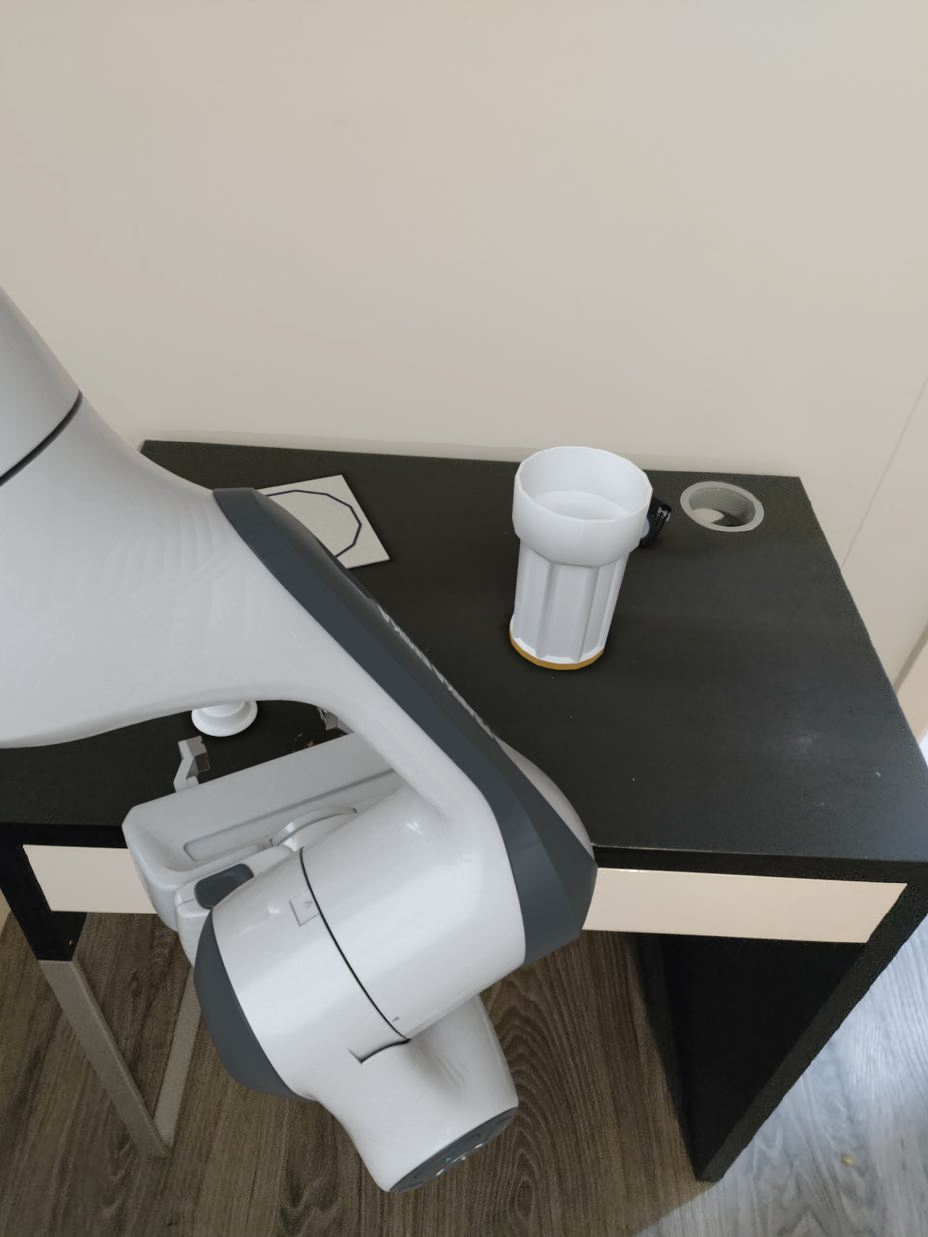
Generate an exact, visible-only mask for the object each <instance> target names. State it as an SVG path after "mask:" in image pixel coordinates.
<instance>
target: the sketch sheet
mask: <svg viewBox="0 0 928 1237" xmlns="http://www.w3.org/2000/svg"><path fill="white" fill-rule="evenodd" d="M348 485H349V484H347V481H346V480H345V478H344V477H343V475H342V474H339V475H333V476H327V477H322V478H316V479H311V480H305V481H300V482H294V483H287V484H284V485H276V486H271V487H265V488H260V489H256V490H257V491H259V492H260V493H262V494H264V495H266V496H267V497H269V498H270V499H272V500H273V501H275V502H276V503H277V504H279V505H280V506H282V507H283V508H285V509H286V510H287V511H288V512H289V513H291V514H292V515H293V516H294V517H295V518H297V519H298V520H299V521H300V522H301V523H303V524H304V525H305V526H306V527H307V528H308V529H309V530H310V531H311V532H312V533H313V534H314V535H315V536H316V537H317V538H318V539H319V540H320V541H321V542H322V543H323V544H324V545H325V546H326V547H327V548H328V549H329V550H330V551H331V552H332V554H333V555H334V556H335V557H336V558H337V559H338V560H339V561H340V562H341V563H342V564H343V565H344V566H345V567H346V568H347V569H348V570H349V569H352V568H357V567H361V566H367V565H371V564H375V563H380V562H385V561H389V560H390V557H389V555H388V553H387V551H386V550H385V548H384V546H383V544H382V543H381V541H380V539H379V538H378V536H377V534H376V532H375V531H374V529H373V527H372V525H371V523H370V522H369V520H368V518H367V517H366V515H365V513H364V511H363V510H362V507H361V506H360V504H359V503H358V500H357V499H356V498H355V496H354V494H353V492H352V490H351V489H350V487H349V486H348Z"/></svg>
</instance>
